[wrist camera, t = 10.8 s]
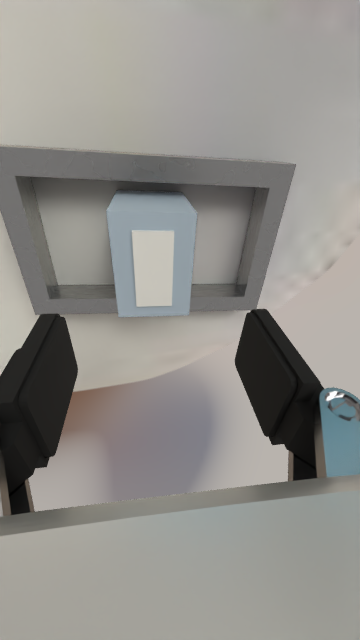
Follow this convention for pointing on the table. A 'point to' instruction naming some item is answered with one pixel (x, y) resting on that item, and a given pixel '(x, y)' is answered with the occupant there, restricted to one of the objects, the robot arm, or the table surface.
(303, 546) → the robot arm
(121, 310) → the module
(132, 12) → the table surface
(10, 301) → the table surface
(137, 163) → the grey rectangular frame
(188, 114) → the table surface
